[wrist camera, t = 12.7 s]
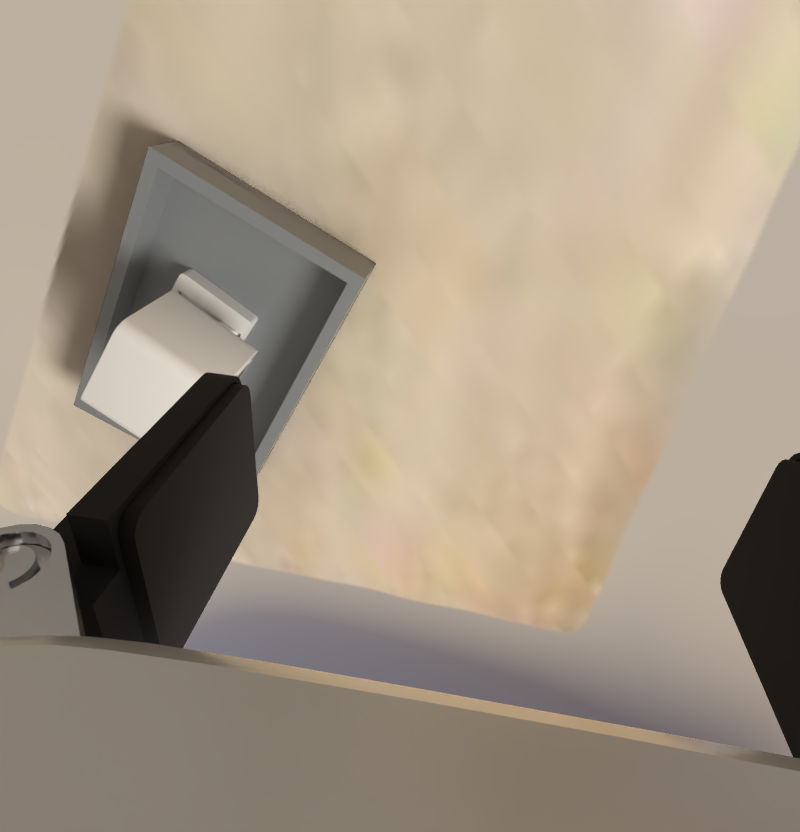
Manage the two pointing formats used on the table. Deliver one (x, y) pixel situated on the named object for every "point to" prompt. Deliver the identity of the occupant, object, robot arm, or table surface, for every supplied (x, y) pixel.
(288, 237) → the parts tray
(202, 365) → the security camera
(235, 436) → the robot arm
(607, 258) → the table surface
